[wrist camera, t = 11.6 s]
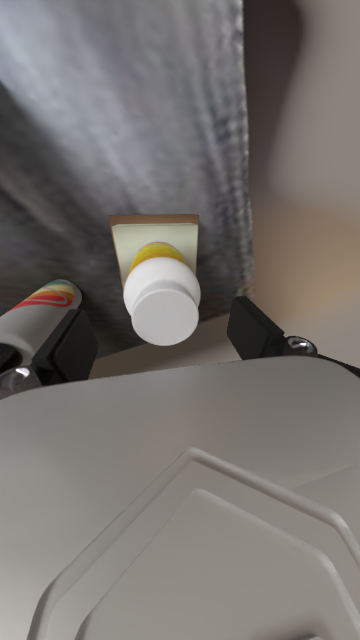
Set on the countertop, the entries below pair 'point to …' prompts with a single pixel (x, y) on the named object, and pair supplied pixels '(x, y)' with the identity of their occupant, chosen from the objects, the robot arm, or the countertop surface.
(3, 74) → the countertop surface
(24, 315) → the lotion bottle
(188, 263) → the cream slab tan edge
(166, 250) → the supplement bottle
